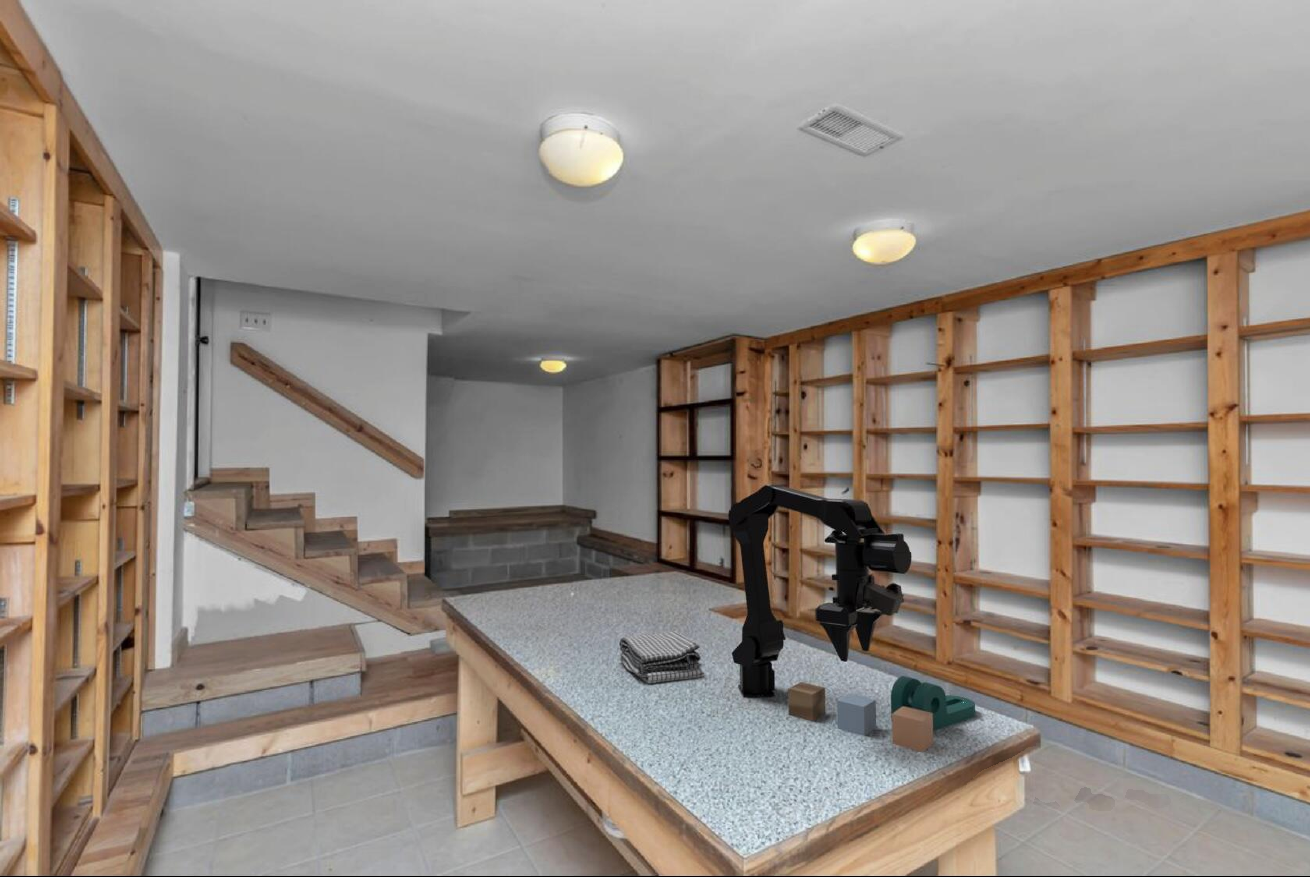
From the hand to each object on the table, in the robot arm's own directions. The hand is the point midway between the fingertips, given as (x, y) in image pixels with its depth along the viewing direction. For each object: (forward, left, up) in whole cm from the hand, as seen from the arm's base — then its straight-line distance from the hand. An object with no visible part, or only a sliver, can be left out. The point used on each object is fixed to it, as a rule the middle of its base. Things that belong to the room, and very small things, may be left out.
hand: (855, 655), depth 116 cm
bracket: (+17, +4, -13) cm, 22 cm away
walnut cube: (-7, +6, -13) cm, 16 cm away
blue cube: (0, -1, -13) cm, 13 cm away
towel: (-33, +36, -13) cm, 51 cm away
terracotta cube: (+7, -8, -13) cm, 16 cm away
